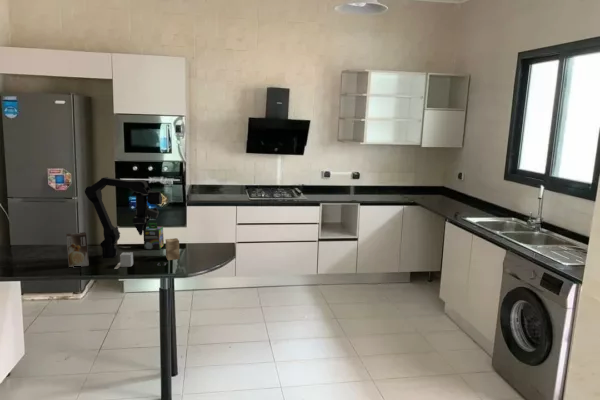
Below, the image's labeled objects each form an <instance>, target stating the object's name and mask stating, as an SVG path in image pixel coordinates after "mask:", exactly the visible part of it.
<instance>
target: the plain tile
mask: <svg viewBox="0 0 600 400" xmlns="http://www.w3.org/2000/svg"><path fill="white" fill-rule="evenodd" d="M120 267H121V266H120V262H118V263H117V265H115V267H114V270H115V269H116V270H117V269H119V268H120Z"/></svg>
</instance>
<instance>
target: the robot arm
mask: <svg viewBox="0 0 600 400" xmlns="http://www.w3.org/2000/svg"><path fill="white" fill-rule="evenodd" d="M107 186H109V187H117V188H124V189H129V190H131V191H133V192H132V193H131V197H135V207H134V209H135V216H134V217H133V218H132V222H131V223H132V224H133V226H134V227H135V229H136V231H137V232H138V235H139V236H143V231H146V228H147V227H148V223H149V222H148V221H149V220H151V218H153V219H157V218H158V217H159V213H160V211H159V209H158V208H157V207H154V208H150V206H149V205H162V204H163V196H162V193H161V191H159V190H158V191H153V190H152V189H151V188H150V186H149V184H148V182H147V181H146V179H145V180H144V179H135V180H133V179H132V180H127V179H121V178H115V177H114V178H112V177H108V176H104V177H101V179H99V180H98V181H97V182H95V183H94V184H91V185H89V186H87V187H85V189H84V195H85V196H86V198H88V200H89V201H90V202H91V203H92V204H93V207H94V209H95V211H96V214H97V217H98V219H99V221H100V223H101V226H102V228H103V240H102V241H101V242H100V244H99V245H100V247H101V249H102V251H101V252H102V256H101V259H115V257H117V255H118V247H117V245H116V244H117V242H118V241H119V240H120V238H121V232H120V231H119V227H118V226H116V227H115V226H114V225H113V224H112V221H111V219H110V217H109V214H108V212H107V208H106V206H105V205H104V202H103V193H102V190H103V189H104V188H105V187H107ZM148 204H149V205H148Z"/></svg>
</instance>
